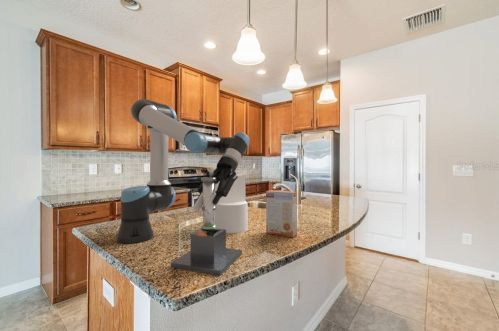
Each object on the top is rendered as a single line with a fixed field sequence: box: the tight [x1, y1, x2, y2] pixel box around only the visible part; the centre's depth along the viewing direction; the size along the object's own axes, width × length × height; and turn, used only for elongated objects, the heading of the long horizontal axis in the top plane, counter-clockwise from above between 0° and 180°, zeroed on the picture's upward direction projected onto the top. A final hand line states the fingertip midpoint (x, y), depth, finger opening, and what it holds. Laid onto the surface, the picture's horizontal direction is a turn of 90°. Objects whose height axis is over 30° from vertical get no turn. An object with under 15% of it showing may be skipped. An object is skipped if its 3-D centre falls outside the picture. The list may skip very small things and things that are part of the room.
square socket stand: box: [170, 228, 243, 276], centre depth 82 cm, size 18×18×11 cm
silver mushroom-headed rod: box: [200, 176, 216, 235], centre depth 82 cm, size 5×5×22 cm
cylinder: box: [214, 174, 249, 235], centre depth 122 cm, size 17×17×28 cm
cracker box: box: [265, 189, 298, 238], centre depth 113 cm, size 14×6×21 cm, turn 58°
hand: (201, 210), depth 78 cm, fingers closed on silver mushroom-headed rod, 4 cm apart
